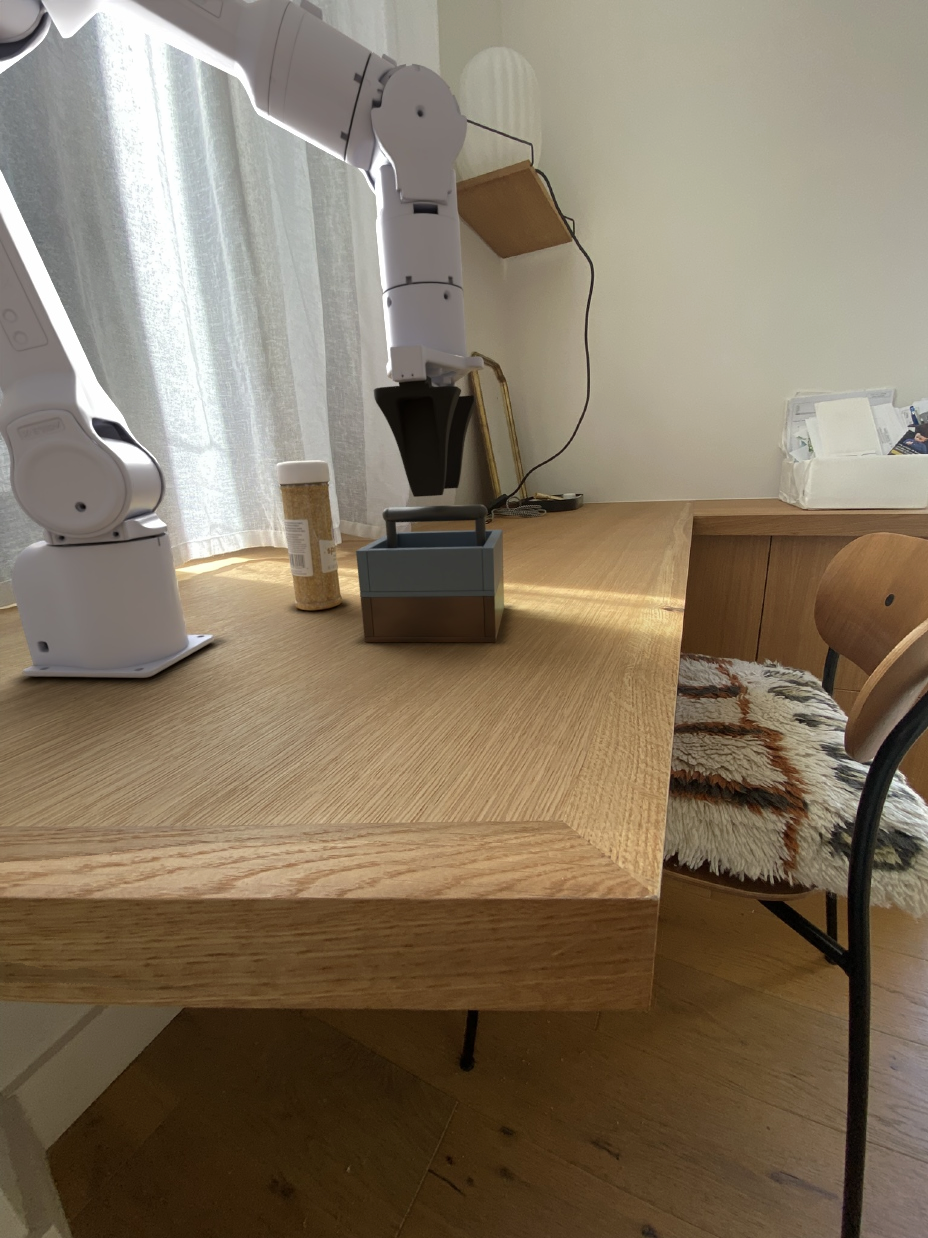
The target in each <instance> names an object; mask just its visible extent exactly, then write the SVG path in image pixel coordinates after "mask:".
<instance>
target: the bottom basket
mask: <svg viewBox="0 0 928 1238" xmlns="http://www.w3.org/2000/svg"><path fill="white" fill-rule="evenodd" d="M504 581H505V580H504V570H503V571H502V574H501V578H500V581H499V584H498V587H497V590H496V593H495V596H454V597H360V606H361V617H362V627H363V636H364V637H363V639H364V643H497V638H498V636H499V630H500V626H501V622H502V618H503V614H504V609H505V585H504V584H505V582H504Z"/></svg>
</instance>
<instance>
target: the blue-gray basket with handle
mask: <svg viewBox="0 0 928 1238" xmlns="http://www.w3.org/2000/svg"><path fill="white" fill-rule="evenodd" d="M488 513H489V512H488V508H487V507H486V506H485V505H484V504H453V505H452V504H451V505H422V506H388V507H386V508H384V510H383V511H382V519H383V520H384V522H385V533H386V535H383V536H382V537H380V538H378V539H376V540H374V541H372V542H370V543H368V544H366V545H364V546H362V547H361V548H358V549H357V550H356V551H355V554H356V565H357V566H356V567H357V576H358V588H359V597H360V598H361V597H454V596H495V593H496V590H497V587H498V584H499V581H500V578H501V574H502V571H503V572H504V538H503V537H504V536H503V535H504V533H503V532H504V531H503V530H504V529H486V518H487V516H488ZM465 521H474V527H475V529H473V530H471V529H469V530H468V529H467V530H432V531H431V530H430V531H429V530H428V531H400V532H399V531H397V523H427V522H428V523H429V522H465Z"/></svg>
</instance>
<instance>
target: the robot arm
mask: <svg viewBox="0 0 928 1238" xmlns="http://www.w3.org/2000/svg"><path fill="white" fill-rule="evenodd" d="M97 13H104V14H106V15H108V16H111V17H112V18H115V19H116V20H119V21H120V22H122V23H125V24H126V25H128V26H130V27H133V28H135V29H137V30H139V31H141V32H143V33H145V34H147V35H149V36H151V37H153V38H155V39H157V40H160V41H162V42H163V43H166V44H167V45H170V46H171V47H173V48H176V49H178V50H180V51H182V52H184V53H186V54H188V55H190V56H192V57H194V58H196V59H198V60H200V61H203V62H205V63H206V64H208V65H211V66H213V67H215V68H217V69H219V70H221V71H223V72H225V73H227V74H229V75H231V76H233V77H235V78H237V79H238V80H239V81H240V82H241V84H242V86H243V88H244V89H245V92H246V94H247V95H248V98H249V100H250V103H251V105H252V107H253V108H254V111H255V112H256V113H257V115H259V117H262V118H264V119H265V120H267V121H270V122H271V123H273V124H275V125H276V126H279V127H280V128H282V129H284V130H286V131H287V132H289V133H291V134H292V135H295V136H296V137H299V138H300V139H302V140H304V141H305V142H307V143H309V144H311V145H313V146H315V147H316V148H318V149H320V150H322V151H324V152H326V153H328V154H330V155H332V156H334V157H335V158H336V159H339V160H340V161H342V162H345V163H346V164H348V165H349V166H351V167H354V168H355V169H358V170H359V171H360V172H361V174H363V176H364V178H365V179H366V182H367V184H368V186H369V189H371V191H372V193H374V195H375V201H376V212H377V213H376V214H377V217H376V221H375V229H376V239H377V250H378V261H379V272H380V283H381V293H382V303H383V305H382V306H383V315H384V316H383V317H384V326H385V338H386V347H387V358H388V360H387V363H386V375H387V378H388V379H392V381H393V382H395V383H398V385H393V386H392V385H391V386H382V387H376V388H373V399H374V401H375V402H376V405H377V406H378V408H379V409H380V411H381V413H382V415H383V416H384V418H385V420H386V422H387V423H388V424H387V425H388V426H389V428H390V430H391V433H392V435H393V437H394V439H395V442H396V445H397V448H398V451H399V454H400V458H401V462H402V465H403V468H404V472H405V475H406V479H407V482H408V485H409V489H410V491H411V494H412V496H413V498H414V497H415V498H419V497H420V498H421V497H435V496H443V495H444V493H445V490H449V489H458V488H459V486H460V481H461V477H462V476H461V475H462V468H463V457H464V450H465V443H466V436H467V433H468V432H467V431H468V427H469V425H470V421H471V418H472V416H473V414H474V411H475V408H476V406H477V397H476V396H475V395H472V394H470V395H461V394H462V389H461V388H460V387H459V386H458V383H457V382H458V381H459V380H461V379H462V378H464V377H466V376H467V375H468V374H469V373H471V372H477V371H482V370H484V369H485V363H484V362H485V361H484V359H483V357H482V356H478V355H477V356H468V348H467V347H468V346H467V332H466V316H465V314H466V313H465V298H464V295H465V294H464V279H463V261H462V258H463V257H462V244H461V243H462V241H461V223H460V214H459V211H458V195H457V194H458V193H457V175H456V169H454V168H453V165H454V164H455V162H456V160H457V159H458V157H459V155H460V153H461V151H462V149H463V146H464V144H465V140H466V135H467V130H468V119H467V116H466V115H465V114H462V112H461V109H460V105H459V102H458V101H457V98H456V95H455V94H453V93H452V91H451V89H450V88H451V87H450V85H449V84H448V83H447V82H446V81H445V79H444V78H442V76H441V75H439V74H438V73H437V72H435V71H434V70H432V69H431V68H429V67H427V66H424V65H421V64H417V63H412V64H410V65H407V64H406V63H405V64H404V63H403V64H400V65H398V61H397V60H395V59H394V58H392V57H391V56H389V55H387V54H386V53H382V55H379V54H377V53H375V52H372V50H370V49H369V48H367V47H365V46H364V45H362V44H361V43H359V42H357V41H356V40H354V39H353V38H351V37H350V36H348V35H346V34H345V33H343V32H341V31H340V30H338V29H337V28H335V27H334V26H332V25H330V24H329V23H327V22H326V21H324V20H323V18H324V17H323V15H324V12H323V9H322V8H320V7H319V6H317V5H316V4H314V3H313V2H311V1H309V0H300V2H299V5H298V4H297V3H295V2H294V1H291V0H254V1H252V2H247V1H246V0H0V74H2V73H3V72H5V71H6V70H7V69H9V68H10V67H11V66H13V65H14V64H15V63H17V62H19V60H21V59H22V58H24V57H25V56H26V55H27V54H29V53H31V52H32V51H33V50H34V49H35V48H36V47H38V46H39V45H40V43H41V42H43V40H44V39H45V38H46V36H47V34H48V33H49V31H50V27H51V24H52V22H53V24H54V25H55V27H56V29H57V30H58V32H59V34H60V36H61V38H63V39H69V38H71V37H73V36H74V35H75V34H76V33H77V32H78V31H79V30H80V29H81V28H82V27H83V26H84V25H85V24H86V23H88V21H89V20H90V19H92V17H93V16H94V15H96V14H97ZM0 390H1V392H2V400H1V404H0V434H1V435H0V436H1V437H2V438H3V440H4V442H5V445H6V448H7V451H8V455H9V463H10V464H9V465H10V466H9V483H10V488H11V491H12V494H13V497H14V499H15V501H16V503H17V505H18V506H19V507H20V509H21V510H22V511H23V513H24V514H25V515H26V516H27V517H28V518H30V520H32V521H33V522H34V523H35V524H37V525H38V526H40V527H41V528H43V532H42V535H43V536H42V537H43V539H44V540H40V541H36V542H33V543H32V544H31V543H30V544H29V545H28V546H26V547H25V548H24V549H23V550H21V551H20V552H19V554H18V555H17V557H16V558H15V560H14V562H13V563H14V564H13V567H12V570H11V587H12V592H13V595H14V599H15V604H16V607H17V611H18V614H19V618H20V621H21V625H22V626H21V627H22V629H23V632H24V636H25V640H26V644H27V648H28V651H29V655H30V658H31V663H32V665H30V666H28V667H26V668H24V669H23V670H22V673H23V676H24V677H43V678H44V677H48V678H51V677H52V678H53V677H54V678H55V677H56V678H57V677H58V678H124V679H125V678H126V679H128V678H129V679H131V678H132V679H133V678H134V679H135V678H136V679H137V678H138V679H144V678H145V679H146V678H150V677H153V676H155V675H157V674H158V673H160V672H163V670H165V669H167V668H169V667H171V666H172V665H175V664H176V663H178V662H180V661H182V660H183V659H184V658H185V659H186V657H188V656H190V655H191V654H194V653H195V652H197V651H198V650H200V649H202V648H204V647H206V646H208V645H209V644H211V643H212V642H214V641H215V635H213V634H188V630H187V625H186V619H185V618H186V617H185V614H184V608H183V604H182V598H181V592H180V587H179V582H178V577H177V571H176V566H175V561H174V556H173V551H172V550H173V549H172V545H171V540H170V534H169V532H168V531H169V530H168V524H166V523H165V522H164V521H162V520H161V519H160V517H159V516H158V514H157V513H156V512H157V511H158V510H159V509H160V508H161V506H162V503H163V501H164V500H165V495H166V488H167V486H166V477H165V473H164V471H163V468H162V467H161V465H160V463H159V461H158V460H157V459H156V458H155V456H154V455H153V453H151V452H150V451H149V450H148V449H146V448H145V447H144V446H143V445H142V444H140V442H139V441H138V440H137V439H136V437H135V436H134V435H133V433H132V432H131V430H130V428H129V427H128V424H127V421H126V420H125V418H124V416H123V414H122V413H121V411H120V410H119V409H118V407H117V406H116V405H115V403H114V402H113V401H112V400H111V398H110V397H109V396H108V393H106V392H105V390H104V389H103V387H102V386H101V385H100V383H99V382H98V380H97V377H96V375H95V373H94V371H93V369H92V366H91V365H90V362H89V360H88V358H87V356H86V353H85V352H84V350H83V347H82V345H81V343H80V340H79V338H78V335H77V334H76V331H75V330H74V328H73V325H72V323H71V320H70V318H69V317H68V314H67V312H66V310H65V308H64V306H63V304H62V302H61V298H60V296H59V295H58V293H57V290H56V288H55V286H54V284H53V282H52V279H51V277H50V275H49V273H48V270H47V268H46V267H45V264H44V261H43V260H42V257H41V255H40V253H39V250H38V249H37V247H36V244H35V242H34V240H33V238H32V236H31V233H30V231H29V229H28V227H27V225H26V223H25V221H24V218H23V217H22V214H21V212H20V210H19V208H18V206H17V203H16V201H15V198H14V197H13V194H12V192H11V190H10V187H9V185H8V183H7V182H6V179H5V177H4V175H3V172H2V171H1V169H0Z"/></svg>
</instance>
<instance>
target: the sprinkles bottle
mask: <svg viewBox="0 0 928 1238" xmlns="http://www.w3.org/2000/svg"><path fill="white" fill-rule="evenodd" d="M275 470H276V479H277V483H278V484H279V485H280V486H279V490H280V491H281V502H282V510H283V516H284V518H283V522H284V529H285V530H284V531H285V537H286V538H285V539H286V544H287V545H286V546H287V551H288V552H287V553H288V559H289V566H290V573H291V576H292V583H293V589H294V607H296V608H297V609H299V610H304V611H320V610H327V609H331V608H334V607H336V606H339V605H341V603H342V602H343V596H342V594H341V588H340V580H339V579H340V578H339V573H338V572H339V571H338V570H339V565H338V557H337V549H336V548H337V547H336V540H335V539H336V538H335V531H334V521H333V517H332V510H331V509H332V507H331V499H330V490H329V488H330V487H329V486H330V484H329V482H330V481H331V478H330V469H329V463H328V462H327V461H326V460H319V459H315V460H314V459H313V460H290V461H289V460H288V461H282V462H277V464H276V465H275Z"/></svg>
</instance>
